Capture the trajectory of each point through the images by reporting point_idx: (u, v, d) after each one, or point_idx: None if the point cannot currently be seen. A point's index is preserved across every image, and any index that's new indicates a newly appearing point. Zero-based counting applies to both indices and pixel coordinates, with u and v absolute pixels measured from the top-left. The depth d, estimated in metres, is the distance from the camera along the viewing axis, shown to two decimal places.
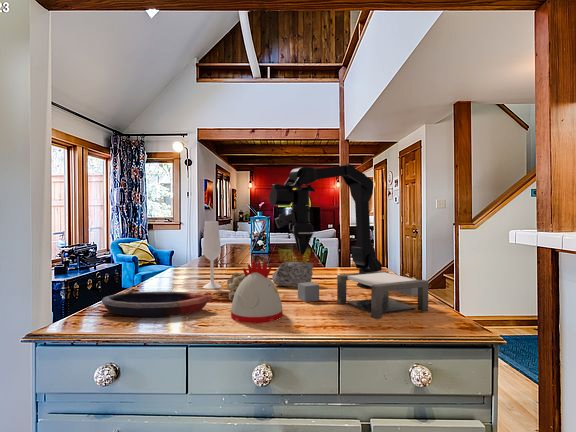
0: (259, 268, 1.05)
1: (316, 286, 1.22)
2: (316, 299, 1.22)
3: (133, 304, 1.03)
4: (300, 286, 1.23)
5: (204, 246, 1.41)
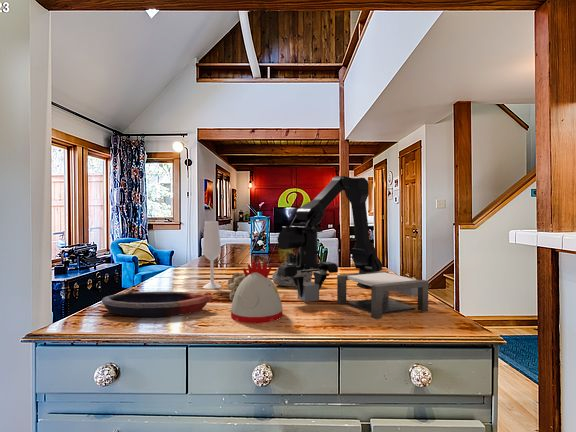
0: (259, 268, 1.05)
1: (316, 286, 1.22)
2: (316, 299, 1.22)
3: (133, 304, 1.03)
4: None
5: (204, 246, 1.41)
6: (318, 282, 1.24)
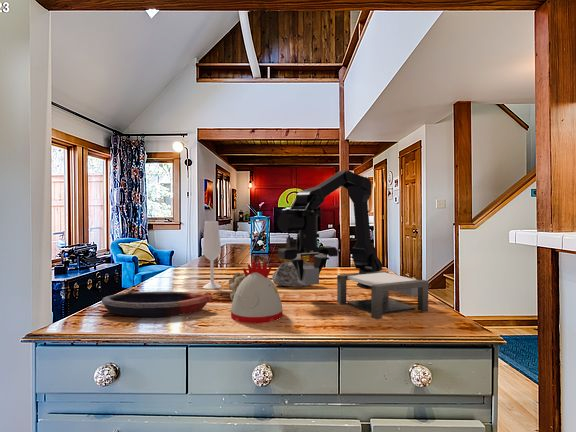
0: (259, 268, 1.05)
1: (316, 269, 1.22)
2: (316, 282, 1.22)
3: (133, 304, 1.03)
4: None
5: (204, 246, 1.41)
6: (318, 266, 1.23)
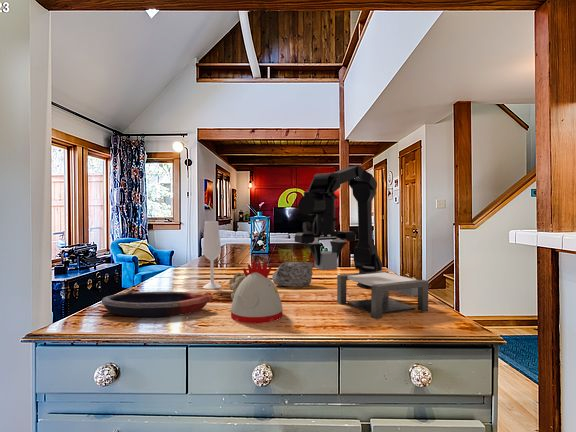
0: (259, 268, 1.05)
1: (334, 254, 1.19)
2: (334, 267, 1.19)
3: (134, 304, 1.03)
4: None
5: (204, 246, 1.41)
6: (336, 251, 1.20)
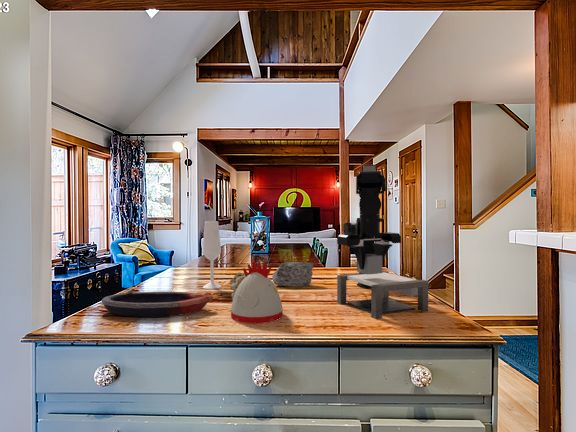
0: (259, 268, 1.05)
1: (379, 257, 1.11)
2: (379, 271, 1.11)
3: (134, 304, 1.03)
4: None
5: (204, 246, 1.41)
6: (380, 253, 1.13)
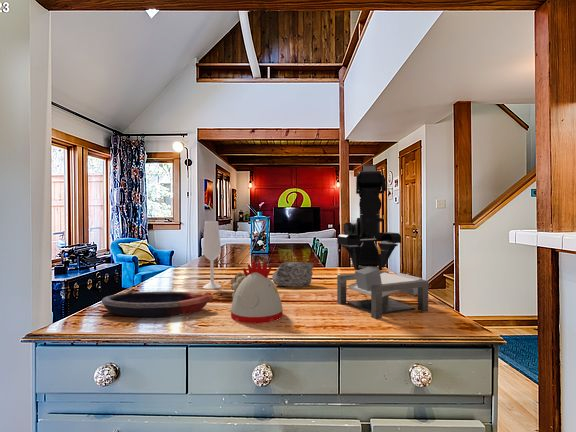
0: (259, 268, 1.05)
1: (376, 271, 1.11)
2: None
3: (134, 304, 1.03)
4: (358, 274, 1.12)
5: (204, 246, 1.41)
6: (386, 253, 1.13)
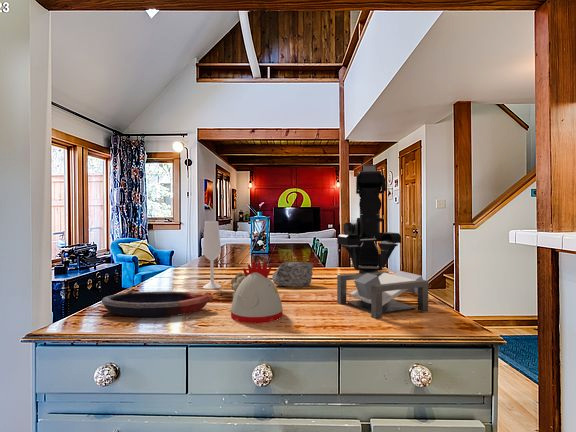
0: (259, 268, 1.05)
1: (375, 278, 1.11)
2: None
3: (134, 304, 1.03)
4: (358, 283, 1.12)
5: (204, 246, 1.41)
6: (386, 253, 1.13)
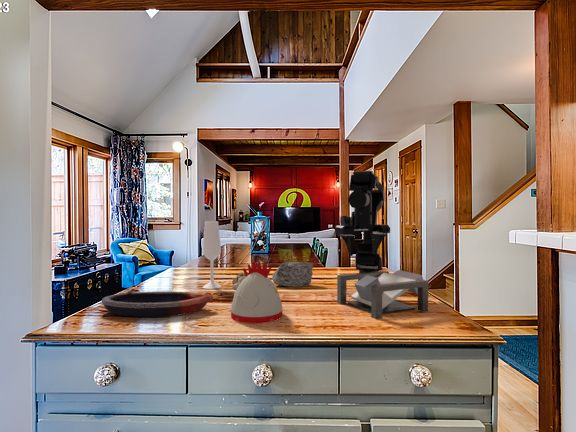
0: (259, 268, 1.05)
1: (375, 280, 1.11)
2: None
3: (134, 304, 1.03)
4: (358, 286, 1.12)
5: (204, 246, 1.41)
6: (377, 242, 1.32)
